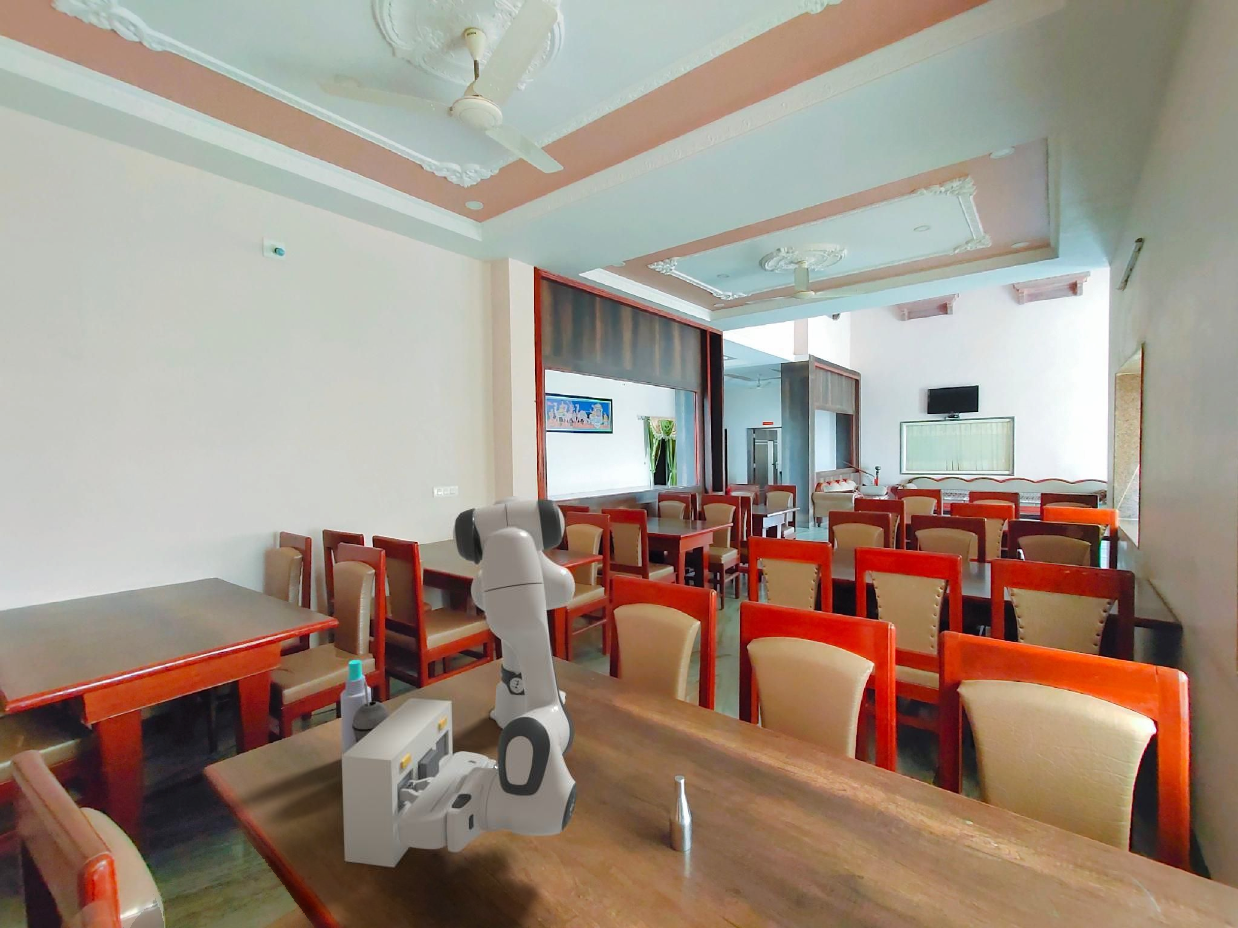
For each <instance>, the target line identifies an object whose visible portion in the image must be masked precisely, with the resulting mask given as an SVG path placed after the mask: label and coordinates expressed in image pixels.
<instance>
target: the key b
mask: <svg viewBox="0 0 1238 928" xmlns="http://www.w3.org/2000/svg"><path fill="white" fill-rule="evenodd" d="M436 750H439V760H440V759H441V758H442V757H443V756H444V755H445V753H446V743H445V734H444V735H443V736H442V737H441V738H440V739H439V740H438V741H437V742H436Z"/></svg>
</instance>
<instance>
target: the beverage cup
mask: <svg viewBox="0 0 1238 928" xmlns="http://www.w3.org/2000/svg"><path fill="white" fill-rule="evenodd" d="M367 686H368V683H367V681H365V682H364V688H365V696H366V703H365V704H364V705H362V706H361V707H360V708H359V709H358V710H357V712H356V714H355V716H354V719H353V724H352V728H353V731H354V735H355V738H356V743H358V742H359V741H360V740H361V739H362V738H363V737H365V736H366V735H367V734H368V733H369V732H371V731H372V730H373V729H374V728H375V727H377V726H378V725H379V724H380V723H381V722H383V721H384V720H385V719H386V718H387V717H389V716H390V714H389V711H388V709H387V707H386V706H385V705H384V704H383V703H381V702H379V701H372V700H371V702H369V697H368V690H367Z"/></svg>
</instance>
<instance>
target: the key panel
mask: <svg viewBox="0 0 1238 928" xmlns="http://www.w3.org/2000/svg"><path fill="white" fill-rule="evenodd" d="M452 706H453V705H452V701H451V700H440V699H428V698H424V699H423V698H415V697H414V698H413V697H410V698H408V700H406V701H405V702H404V703H402V705H401V706H399V707H398V708H397V709H396V710H395V711H393V712H392V713H391V714H389V717H387V718H386V719H385V720H384V721H383V722H381V723H380V724H379V725H378V726H377V727H375V728H374V729H373V730H372V731H371V732H369V733H368V734H367V735H366V736H365V737H363V738H362V739H361V740H360V741H359V742H358V743H356V744H355V745H354V746H353V747H352V748H350V749H349V750H348V751H347V752H346V753H344V754H343V755H341V770H342V772H341V775H342V776H341V777H342V778H341V779H342V809H343V811H342V812H343V843H344V846H343V847H344V861H345V862H351V863H356V864H357V863H358V864H364V865H365V864H366V865H374V866H380V867H389V868H395V867H396V866H397V864H398V863H399V861H400V860H401V859H402V857H403V856H404V855H405V854H406V852H407V851H408V850H409V848H410V847H408V846H404V845H403V844H402V843H401V842H400V841H399V835H398V822H399V820H400V818H401V817H402V816H403V815H404V813H405V812H406V811H407V810H408V809H409V807H410V806H411V805H412V804H411V803H410V802H409V801H405V802H404V803H403V804H402V805H401V806H400V807H399V809H398V797H397V784H398V783H399V782H400V781H401V780H402V779H403V778H404V777H405V776H406V775H407V773H408V772H409V771H410V779H411V780H415V781H418V762H419V761H420V759H421V758H422V757H423V756H424V755H425V754H426V753H427V752H428V751H429V750H430V749H431V750H436V742H437V741H438V740H439V739H440V738H441V737H442V736H443V735H444V734H445V743H446V753H445V755H444V756H443V757H442V758H441V759H440V760H439V771H440V770H441V769H442V768H443V767H444V765H445V764H446V763H447V762H448V761H449V759H450V758H451V757H452V756H453V755H454V753H453V752H454V751H453V714H452V713H453V711H452V708H453V707H452Z"/></svg>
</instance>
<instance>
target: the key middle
mask: <svg viewBox="0 0 1238 928" xmlns="http://www.w3.org/2000/svg"><path fill="white" fill-rule="evenodd" d="M438 773H439V750H431V749H430V750H429V751H428V752H427V753H426V754H425V755H424V756H423V757H422V758H421V759H420V761H419V762H418V780H421V779H425V778H429V777H435V776H436V775H437V774H438Z"/></svg>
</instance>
